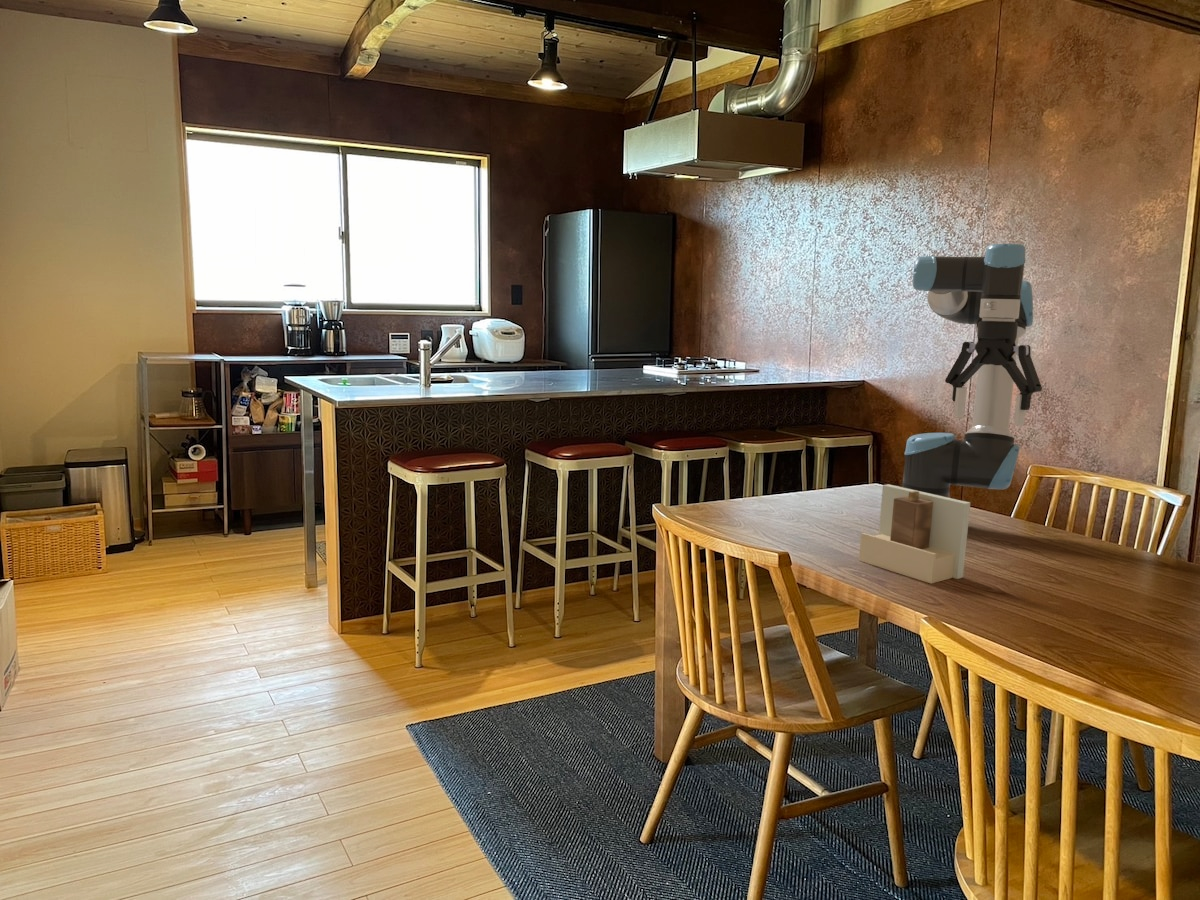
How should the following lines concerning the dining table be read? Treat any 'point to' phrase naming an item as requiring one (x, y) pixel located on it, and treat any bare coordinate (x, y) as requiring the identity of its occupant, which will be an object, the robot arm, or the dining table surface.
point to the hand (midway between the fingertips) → (987, 421)
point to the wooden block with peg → (911, 521)
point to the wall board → (943, 544)
